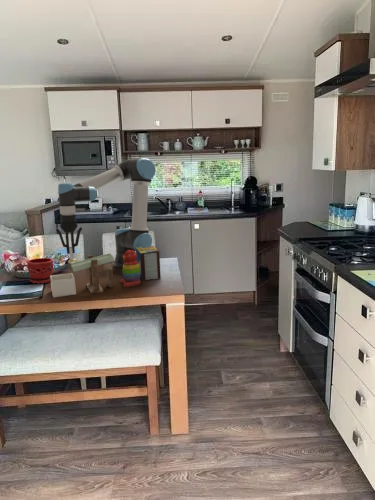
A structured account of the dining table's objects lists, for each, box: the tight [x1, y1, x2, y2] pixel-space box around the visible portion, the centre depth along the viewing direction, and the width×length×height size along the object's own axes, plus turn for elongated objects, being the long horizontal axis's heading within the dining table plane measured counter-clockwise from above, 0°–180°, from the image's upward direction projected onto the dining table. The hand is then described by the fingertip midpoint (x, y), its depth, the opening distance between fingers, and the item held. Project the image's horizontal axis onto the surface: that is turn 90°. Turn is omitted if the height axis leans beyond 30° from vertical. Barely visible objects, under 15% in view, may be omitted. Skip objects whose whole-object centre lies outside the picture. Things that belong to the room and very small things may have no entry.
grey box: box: [50, 272, 77, 298], centre depth 185 cm, size 11×11×8 cm
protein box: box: [135, 245, 162, 281], centre depth 210 cm, size 10×15×16 cm
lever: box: [67, 253, 115, 272], centre depth 193 cm, size 21×18×3 cm
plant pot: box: [26, 257, 54, 285], centre depth 205 cm, size 13×13×12 cm
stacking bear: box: [119, 250, 142, 288], centre depth 197 cm, size 11×10×18 cm
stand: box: [85, 254, 115, 294], centre depth 191 cm, size 12×15×16 cm
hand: (71, 259), depth 196 cm, fingers closed
